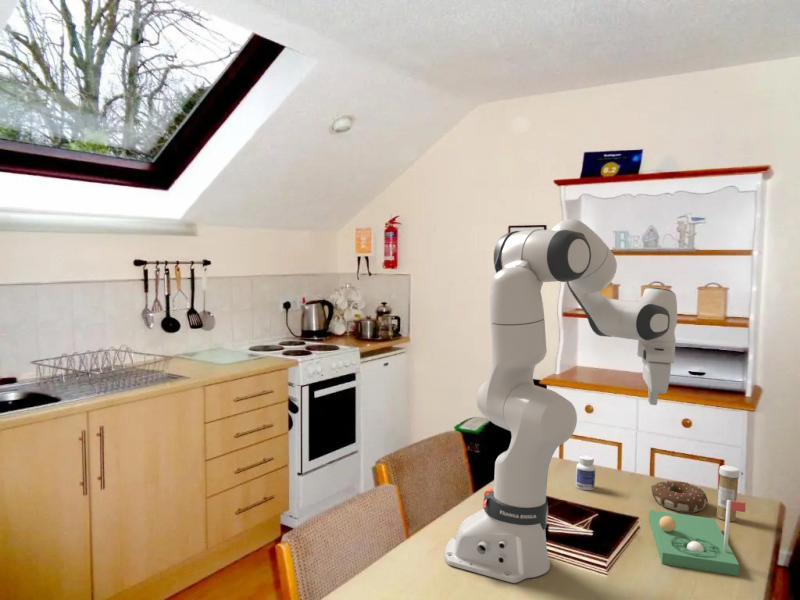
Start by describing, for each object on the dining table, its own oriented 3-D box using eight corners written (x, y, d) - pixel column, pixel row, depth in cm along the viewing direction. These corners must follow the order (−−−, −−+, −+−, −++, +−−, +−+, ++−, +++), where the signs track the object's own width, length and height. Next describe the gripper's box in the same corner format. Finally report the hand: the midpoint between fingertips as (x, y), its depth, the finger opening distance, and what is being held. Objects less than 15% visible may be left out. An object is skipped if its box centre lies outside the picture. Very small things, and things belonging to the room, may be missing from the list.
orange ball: (660, 533, 142) (661, 518, 142) (658, 526, 146) (659, 512, 145) (676, 535, 141) (677, 520, 141) (673, 529, 145) (674, 514, 144)
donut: (713, 505, 167) (714, 487, 167) (696, 520, 157) (698, 501, 157) (660, 490, 177) (661, 473, 176) (641, 503, 167) (642, 485, 166)
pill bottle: (596, 491, 174) (598, 460, 173) (578, 490, 174) (580, 460, 173) (591, 484, 179) (592, 454, 178) (573, 483, 179) (574, 454, 178)
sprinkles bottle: (739, 519, 158) (743, 469, 157) (729, 523, 155) (733, 471, 154) (721, 513, 161) (725, 463, 160) (712, 516, 159) (716, 466, 158)
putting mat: (661, 563, 133) (666, 501, 132) (649, 519, 156) (652, 465, 155) (747, 577, 128) (752, 512, 127) (721, 529, 151) (725, 474, 150)
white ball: (685, 552, 139) (688, 559, 135) (685, 537, 138) (688, 544, 135) (701, 554, 138) (705, 561, 134) (702, 539, 137) (705, 546, 134)
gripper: (638, 344, 168) (635, 394, 169) (647, 355, 148) (643, 411, 149) (663, 346, 166) (660, 396, 167) (675, 357, 146) (671, 414, 147)
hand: (652, 403), depth 158 cm, fingers closed
